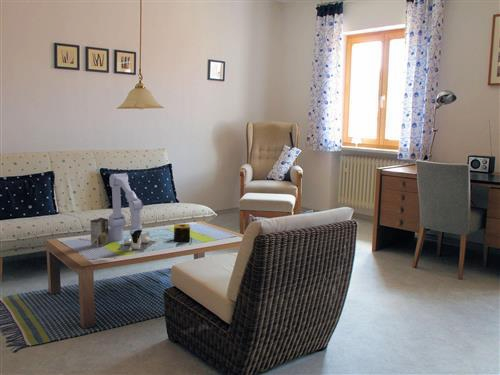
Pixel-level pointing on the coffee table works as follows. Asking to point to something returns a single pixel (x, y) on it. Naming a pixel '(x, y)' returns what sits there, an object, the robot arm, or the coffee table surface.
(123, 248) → the levelling base
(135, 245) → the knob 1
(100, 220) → the coffee box
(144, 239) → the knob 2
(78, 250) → the coffee table surface
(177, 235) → the candle
